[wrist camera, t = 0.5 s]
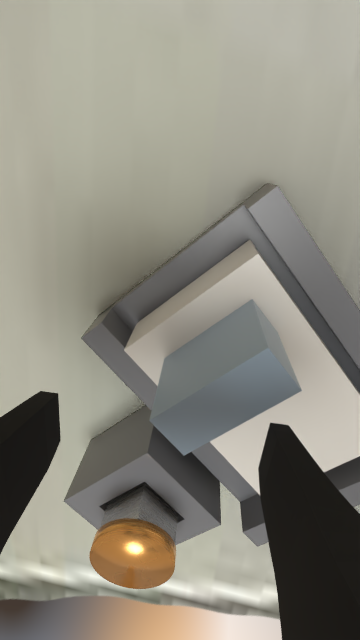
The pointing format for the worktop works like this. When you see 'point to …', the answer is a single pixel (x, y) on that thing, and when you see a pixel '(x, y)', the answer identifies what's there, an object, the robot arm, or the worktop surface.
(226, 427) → the white blue stepped block
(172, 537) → the orange round piece
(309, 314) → the housing
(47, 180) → the worktop surface
